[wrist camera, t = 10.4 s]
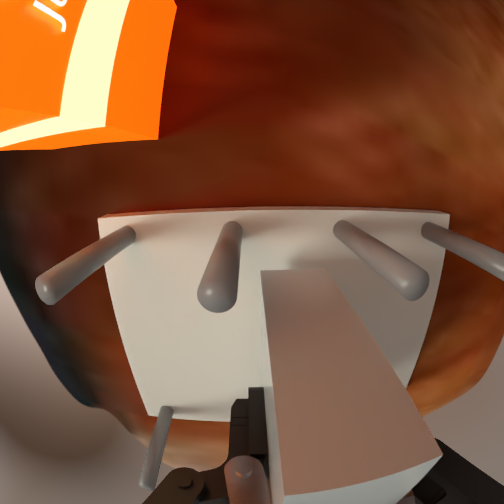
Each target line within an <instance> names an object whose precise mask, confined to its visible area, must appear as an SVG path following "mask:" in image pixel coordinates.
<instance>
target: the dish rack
mask: <svg viewBox="0 0 504 504" xmlns="http://www.w3.org/2000/svg"><path fill="white" fill-rule="evenodd" d="M449 219H450V214H447V213H444V212H441V211H434V210H417V209H397V208H371V207H324V206H277V207H228V208H201V209H180V210H162V211H147V212H132V213H119V214H108V215H105V216H103V217H100V218H98V226H99V233H100V240H98V241H96V242H94V243H93V244H91V245H89V246H87V247H86V248H84V249H82V250H81V251H79V252H77V253H75V254H74V255H72V256H70V257H69V258H67V259H65V260H64V261H62V262H61V263H59V264H57V265H56V266H54V267H53V268H51V269H49V270H48V271H46V272H45V273H43V274H42V275H40V276H38V277H37V279H36V282H35V286H36V291H37V293H38V295H39V297H40V298H41V300H42V301H43V302H45V303H46V304H48V305H53V304H55V303H56V302H57V301H59V300H60V299H61V298H62V297H63V296H65V295H66V294H67V293H68V292H69V291H71V290H72V289H73V288H74V287H76V286H77V285H78V284H79V283H80V282H82V281H83V280H84V279H86V278H87V277H88V276H89V275H91V274H92V273H93V272H94V271H96V270H97V269H98V268H100V267H101V266H102V265H105V270H106V275H107V280H108V285H109V290H110V294H111V299H112V303H113V307H114V311H115V315H116V319H117V323H118V327H119V330H120V334H121V338H122V341H123V344H124V348H125V351H126V354H127V357H128V361H129V364H130V367H131V370H132V373H133V375H134V378H135V381H136V384H137V387H138V389H139V392H140V395H141V397H142V400H143V402H144V405H145V407H146V410H147V412H148V415H150V416H158V418H157V421H156V425H155V428H154V431H153V434H152V438H151V441H150V445H149V448H148V452H147V455H146V459H145V462H144V465H143V469H142V473H141V476H140V480H139V483H138V485H139V486H140V487H141V488H143V489H146V490H151V491H154V490H155V486H156V481H157V477H158V472H159V468H160V464H161V460H162V456H163V452H164V448H165V444H166V440H167V436H168V432H169V428H170V424H171V420H172V418H176V419H188V420H203V421H230V419H231V407H232V405H233V403H234V402H235V400H236V399H248V387H261V344H260V270H295V269H326V271H327V272H328V273H329V275H330V276H331V277H332V279H333V280H334V282H335V283H336V284H337V286H338V287H339V289H340V290H341V292H342V293H343V294H344V296H345V297H346V299H347V300H348V302H349V303H350V304H351V306H352V307H353V309H354V310H355V312H356V313H357V315H358V316H359V318H360V319H361V321H362V322H363V324H364V325H365V326H366V328H367V329H368V331H369V332H370V334H371V335H372V337H373V339H374V340H375V342H376V343H377V345H378V346H379V348H380V349H381V351H382V352H383V354H384V355H385V357H386V358H387V360H388V362H389V363H390V365H391V366H392V368H393V370H394V371H395V373H396V374H397V376H398V377H399V379H400V381H401V382H402V384H403V386H404V387H405V389H406V387H407V385H408V382H409V380H410V377H411V375H412V372H413V370H414V367H415V364H416V362H417V359H418V356H419V353H420V350H421V347H422V344H423V341H424V338H425V335H426V332H427V329H428V325H429V322H430V318H431V315H432V311H433V307H434V303H435V299H436V295H437V291H438V286H439V282H440V277H441V272H442V267H443V261H444V256H445V249H447V250H449V251H451V252H453V253H455V254H457V255H459V256H460V257H462V258H464V259H466V260H468V261H470V262H471V263H473V264H475V265H477V266H479V267H480V268H482V269H484V270H486V271H488V272H489V273H491V274H493V275H494V276H496V277H498V278H499V279H501V280H503V281H504V254H503V253H501V252H499V251H497V250H495V249H493V248H491V247H488V246H486V245H484V244H482V243H480V242H477V241H475V240H473V239H470V238H468V237H466V236H463V235H461V234H459V233H456V232H454V231H451V230H449V229H448V228H449Z"/></svg>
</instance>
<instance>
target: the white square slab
mask: <svg viewBox="0 0 504 504" xmlns="http://www.w3.org/2000/svg"><path fill="white" fill-rule="evenodd" d="M260 344H261V387H264V399H265V413H266V428H267V443H268V468H267V483H268V486H269V489H270V493H271V499H272V504H396V503H397V502H398V501H399V500H401V499H402V498H403V497H404V496H405V495H406V494H407V493H408V492H409V491H410V490H411V489H412V488H413V487H414V486H415V485H416V484H417V483H418V482H419V481H420V480H421V479H422V478H423V477H424V476H425V475H426V474H427V473H428V472H429V470H430V469H431V468H432V467H433V466H434V465H435V464H436V463H437V461H438V460H439V459H440V458H441V457H442V455H443V453H442V451H441V449H440V448H439V446H438V444H437V442H436V440H435V439H434V437H433V435H432V433H431V431H430V430H429V428H428V426H427V424H426V423H425V421H424V419H423V417H422V416H421V414H420V412H419V411H418V409H417V407H416V405H415V404H414V402H413V400H412V399H411V397H410V395H409V394H408V392H407V390H406V389H405V387H404V386H403V384H402V382H401V381H400V379H399V377H398V376H397V374H396V373H395V371H394V370H393V368H392V366H391V365H390V363H389V362H388V360H387V358H386V357H385V355H384V354H383V352H382V351H381V349H380V348H379V346H378V345H377V343H376V342H375V340H374V339H373V337H372V335H371V334H370V332H369V331H368V329H367V328H366V326H365V325H364V324H363V322H362V321H361V319H360V318H359V316H358V315H357V313H356V312H355V310H354V309H353V307H352V306H351V304H350V303H349V302H348V300H347V299H346V297H345V296H344V294H343V293H342V292H341V290H340V289H339V287H338V286H337V284H336V283H335V282H334V280H333V279H332V277H331V276H330V275H329V273H328V272H327V271H326V269H295V270H260Z"/></svg>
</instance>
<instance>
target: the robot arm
mask: <svg viewBox="0 0 504 504" xmlns="http://www.w3.org/2000/svg"><path fill="white" fill-rule="evenodd" d="M434 439H435V440H436V442H437V444H438V446H439V448H440V449H441V451H442V453H443V455H442V457H441V458H440V459H439V460H438V461H437V463H436V464H435V465H434V466H433V467H432V468H431V469H430V470H429V472H428V473H427V474H426V475H425V476H424V477H423V478H422V479H421V480H420V481H419V482H418V483H417V484H416V485H415V486H414V487H413V488H412V489H411V490H410V491H409V492H408V493H407V494H406V495H405V496H404V497H403V498H402V499H401V500H399V501H398V502H397V503H396V504H504V486H503V485H501V484H500V483H498V482H497V481H495V480H494V479H493V478H491V477H490V476H488V475H487V474H485V473H484V472H483V471H481V470H480V469H478V468H477V467H476V466H474V465H473V464H471V463H470V462H469V461H467V460H466V459H464V458H463V457H462V456H460V455H459V454H458V453H456V452H455V451H454V450H452V449H451V448H450V447H448V446H447V445H445V444H444V443H443V442H441V441H440V440H438V439H436V438H434ZM267 468H268V443H267V428H266V413H265V399H264V387H248V399H236V400H235V402H234V403H233V405H232V407H231V419H230V435H229V454H228V458H227V460H226V461H225V462H224V463H223V464H222V465H221V466H219V467H218V468H215V469H212V470H207V471H202V472H197V471H196V470H194V469H191V468H185V467H184V468H177V469H174V470H172V471H171V472H170V473H169V474H168V475H167V476H166V477H165V478H164V480H163V481H162V482H161V483H160V484H159V485H158V487H157V488H156V489H155V490H154V491H153V492H152V494H151V495H150V496H149V497H148V498H147V499H146V500H145V501H144V502H143V503H142V504H272V499H271V493H270V489H269V486H268V483H267Z"/></svg>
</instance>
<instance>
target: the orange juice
mask: <svg viewBox="0 0 504 504" xmlns="http://www.w3.org/2000/svg"><path fill="white" fill-rule="evenodd" d="M176 9H177V6H176V4H175V2H174V0H0V151H2V150H29V149H58V148H64V147H71V146H79V145H87V144H96V143H107V142H119V141H133V140H155V139H158V132H159V120H160V109H161V100H162V91H163V83H164V76H165V68H166V62H167V55H168V49H169V44H170V38H171V33H172V28H173V23H174V18H175V13H176Z"/></svg>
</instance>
